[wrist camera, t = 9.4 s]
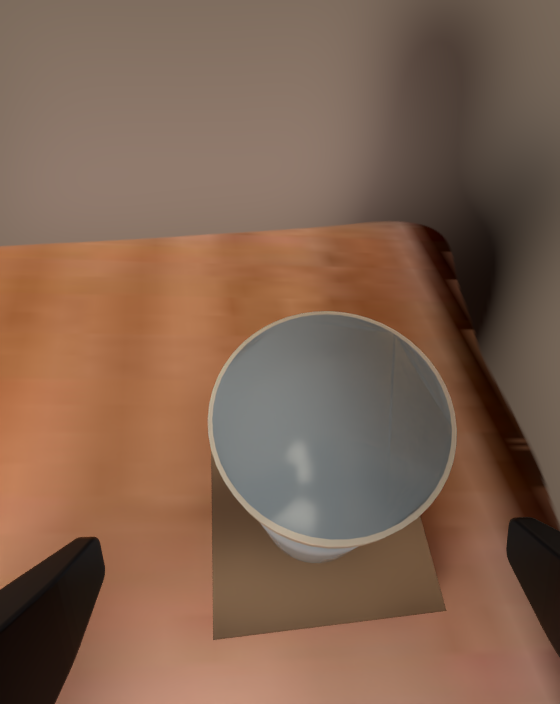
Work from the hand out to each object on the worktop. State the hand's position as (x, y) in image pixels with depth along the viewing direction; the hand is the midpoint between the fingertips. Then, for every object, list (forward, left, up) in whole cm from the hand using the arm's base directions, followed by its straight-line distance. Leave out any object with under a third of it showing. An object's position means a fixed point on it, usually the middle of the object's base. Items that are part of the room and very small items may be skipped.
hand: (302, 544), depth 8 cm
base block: (+3, -1, -14) cm, 14 cm away
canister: (+2, -1, -11) cm, 11 cm away
